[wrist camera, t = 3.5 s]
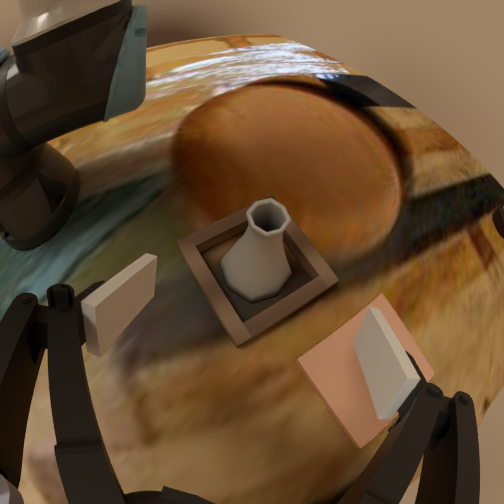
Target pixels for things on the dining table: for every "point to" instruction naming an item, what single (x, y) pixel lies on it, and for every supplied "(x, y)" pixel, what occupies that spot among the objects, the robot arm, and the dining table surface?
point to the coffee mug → (499, 219)
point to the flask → (259, 254)
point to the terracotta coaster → (353, 373)
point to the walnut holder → (217, 299)
